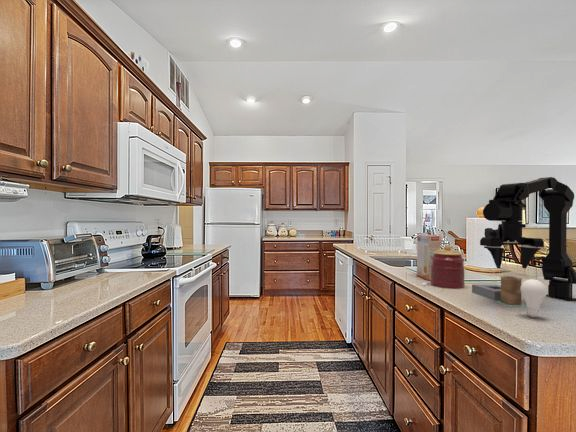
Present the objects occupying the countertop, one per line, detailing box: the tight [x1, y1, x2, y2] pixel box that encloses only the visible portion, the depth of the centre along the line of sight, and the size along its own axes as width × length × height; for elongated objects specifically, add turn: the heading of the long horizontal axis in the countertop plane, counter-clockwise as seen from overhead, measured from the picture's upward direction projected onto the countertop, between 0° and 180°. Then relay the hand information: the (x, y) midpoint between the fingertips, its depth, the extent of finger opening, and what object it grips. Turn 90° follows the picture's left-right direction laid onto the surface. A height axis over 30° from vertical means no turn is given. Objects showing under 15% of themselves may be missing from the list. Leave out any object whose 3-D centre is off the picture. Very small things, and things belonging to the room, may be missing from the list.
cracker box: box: [416, 233, 442, 282], centre depth 158 cm, size 14×6×21 cm, turn 179°
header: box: [471, 283, 501, 301], centre depth 120 cm, size 10×12×4 cm
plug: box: [499, 275, 523, 305], centre depth 109 cm, size 4×4×9 cm
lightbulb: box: [520, 278, 548, 318], centre depth 96 cm, size 6×6×11 cm
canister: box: [430, 244, 466, 290], centre depth 139 cm, size 13×13×18 cm
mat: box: [493, 300, 527, 308], centre depth 109 cm, size 7×7×1 cm
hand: (511, 268), depth 109 cm, fingers open, 9 cm apart
